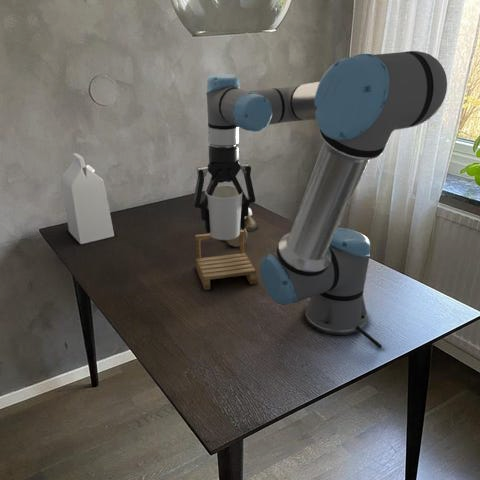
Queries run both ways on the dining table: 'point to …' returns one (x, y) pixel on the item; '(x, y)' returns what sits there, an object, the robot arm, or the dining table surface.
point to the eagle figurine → (250, 221)
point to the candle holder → (224, 212)
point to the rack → (223, 264)
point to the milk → (86, 203)
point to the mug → (237, 239)
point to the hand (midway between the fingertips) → (224, 229)
